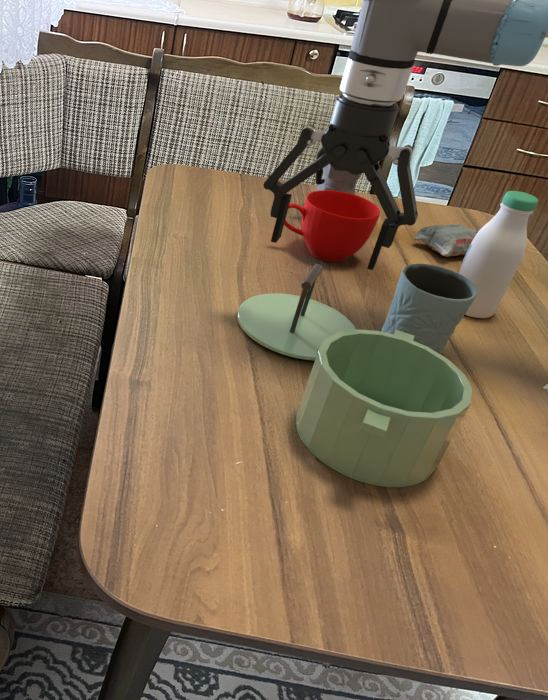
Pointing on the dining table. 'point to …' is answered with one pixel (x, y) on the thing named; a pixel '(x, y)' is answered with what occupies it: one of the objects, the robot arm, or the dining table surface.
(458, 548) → the dining table surface
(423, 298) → the blue-grey cylindrical cup
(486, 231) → the milk bottle
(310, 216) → the ceramic cup
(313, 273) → the lid
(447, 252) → the packaged food
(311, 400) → the pot
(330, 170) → the coffeepot
